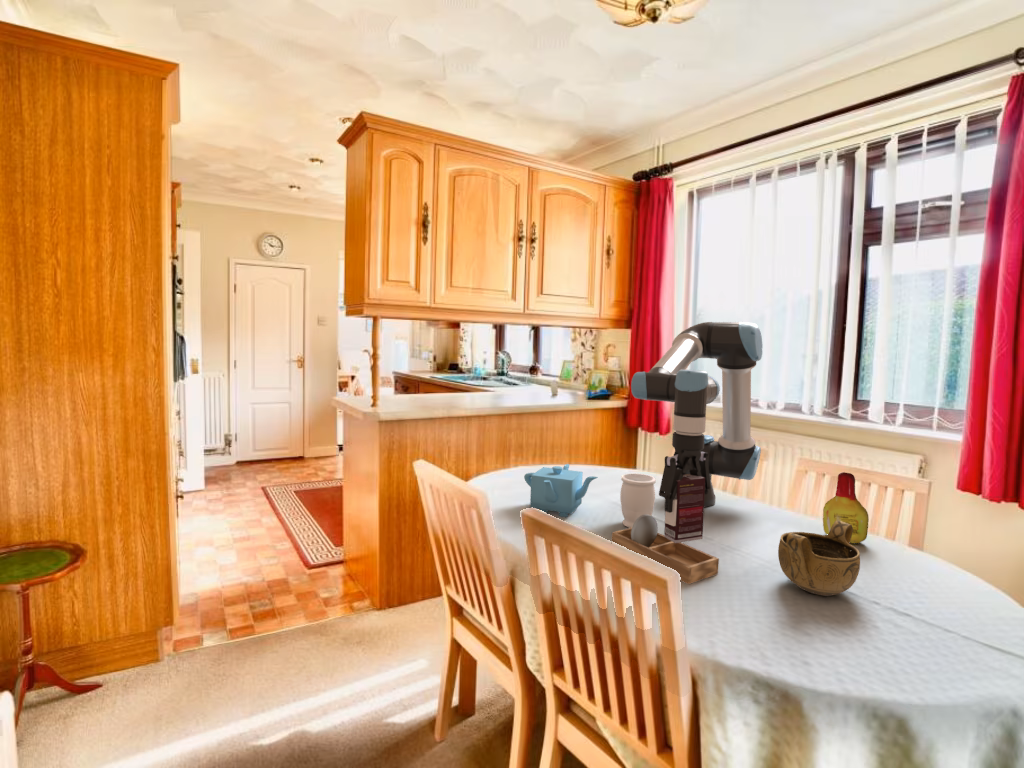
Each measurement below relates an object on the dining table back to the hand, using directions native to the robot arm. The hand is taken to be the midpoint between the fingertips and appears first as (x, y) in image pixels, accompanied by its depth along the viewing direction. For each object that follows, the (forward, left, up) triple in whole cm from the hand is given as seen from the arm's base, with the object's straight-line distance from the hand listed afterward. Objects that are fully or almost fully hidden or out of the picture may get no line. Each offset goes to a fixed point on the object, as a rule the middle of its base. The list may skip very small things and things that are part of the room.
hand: (683, 520), depth 139 cm
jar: (-13, -28, -13) cm, 34 cm away
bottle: (-58, +11, -13) cm, 60 cm away
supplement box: (0, 0, -5) cm, 5 cm away
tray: (0, -6, -12) cm, 14 cm away
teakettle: (0, -50, -13) cm, 52 cm away
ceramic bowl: (-19, +24, -13) cm, 33 cm away
